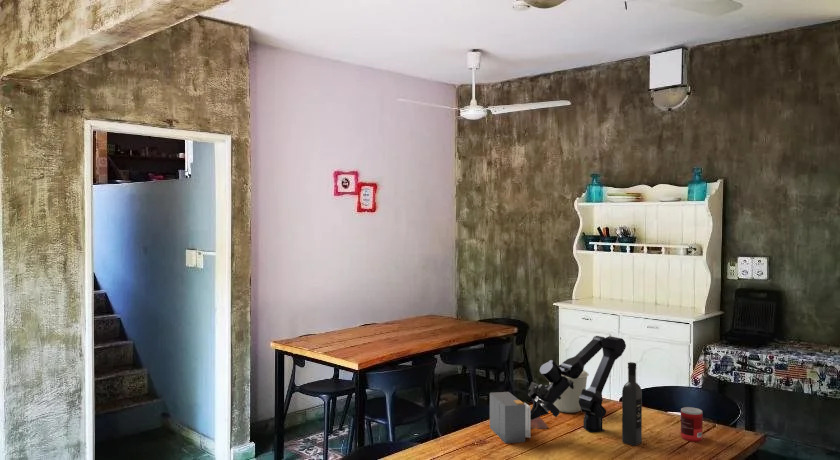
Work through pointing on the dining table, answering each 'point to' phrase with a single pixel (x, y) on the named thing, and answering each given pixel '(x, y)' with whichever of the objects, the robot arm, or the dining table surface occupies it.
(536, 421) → the wooden tablet
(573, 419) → the dining table surface
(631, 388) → the wine bottle
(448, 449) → the dining table surface
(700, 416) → the canned food
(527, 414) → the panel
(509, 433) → the small drawer cabinet
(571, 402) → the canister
